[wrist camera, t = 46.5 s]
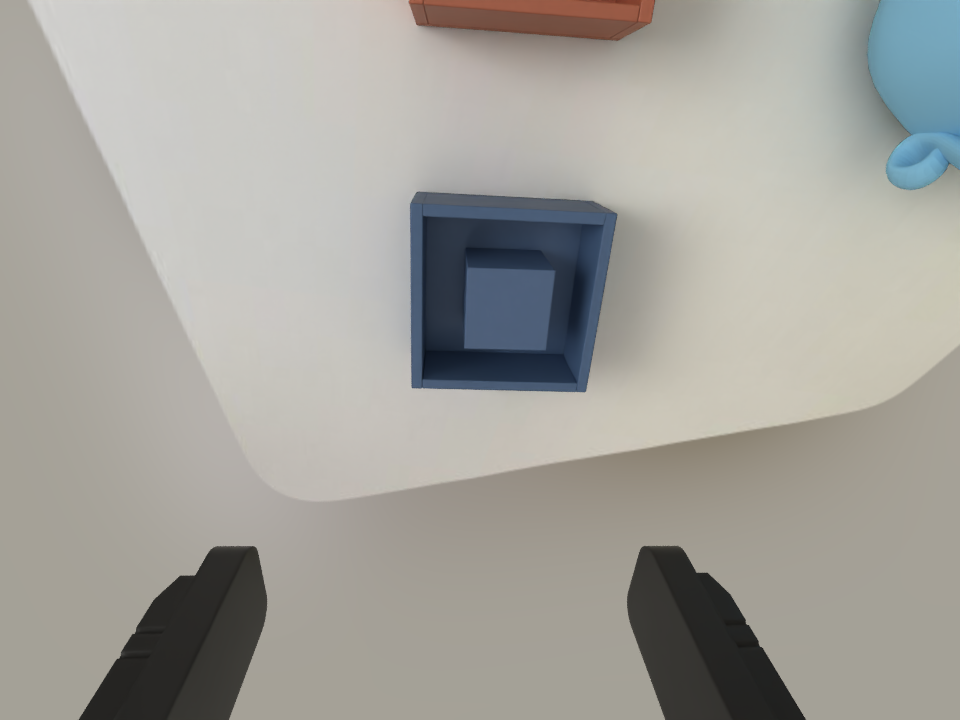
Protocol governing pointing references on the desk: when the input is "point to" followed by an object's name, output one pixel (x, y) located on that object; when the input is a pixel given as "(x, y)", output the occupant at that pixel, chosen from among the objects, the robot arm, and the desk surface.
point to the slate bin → (506, 225)
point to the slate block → (506, 299)
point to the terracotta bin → (539, 16)
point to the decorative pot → (919, 84)
